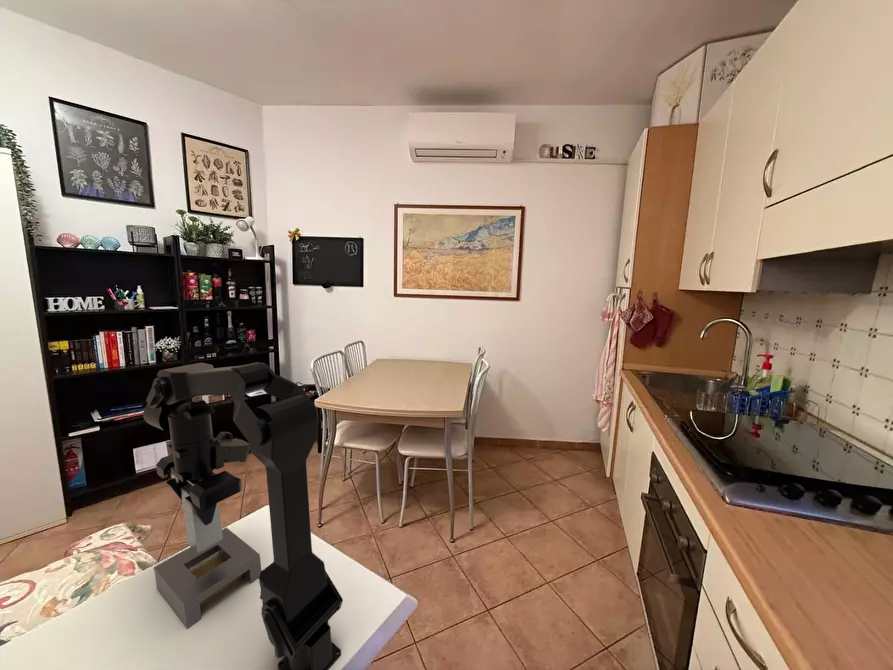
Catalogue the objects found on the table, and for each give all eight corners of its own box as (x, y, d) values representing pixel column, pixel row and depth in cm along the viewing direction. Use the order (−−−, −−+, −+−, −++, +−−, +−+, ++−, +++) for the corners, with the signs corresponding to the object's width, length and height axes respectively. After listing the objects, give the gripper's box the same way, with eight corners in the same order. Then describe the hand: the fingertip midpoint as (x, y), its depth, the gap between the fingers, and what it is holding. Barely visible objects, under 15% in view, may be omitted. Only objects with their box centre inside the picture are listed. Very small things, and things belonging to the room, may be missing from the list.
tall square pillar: (222, 538, 62) (216, 483, 61) (197, 553, 59) (190, 495, 57) (212, 529, 65) (205, 476, 63) (187, 543, 61) (180, 487, 60)
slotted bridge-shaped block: (261, 575, 65) (259, 554, 64) (187, 628, 55) (183, 604, 54) (228, 546, 72) (226, 527, 71) (157, 589, 62) (153, 567, 61)
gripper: (268, 433, 60) (275, 513, 63) (218, 411, 70) (226, 480, 73) (195, 460, 51) (207, 552, 54) (150, 430, 61) (161, 509, 64)
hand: (202, 518), depth 61 cm, fingers closed on tall square pillar, 4 cm apart
